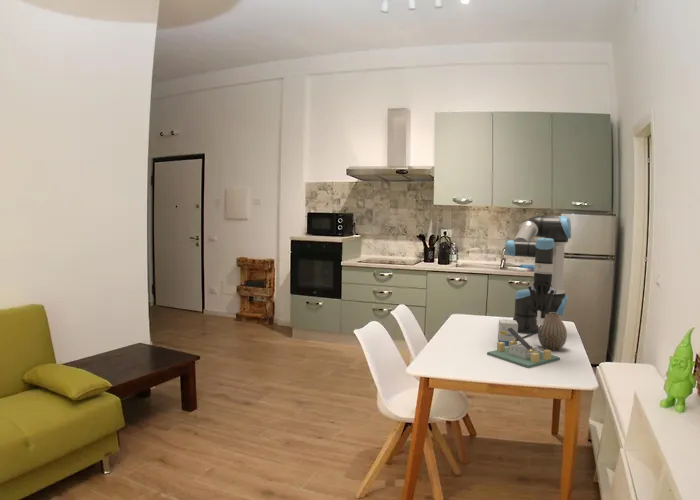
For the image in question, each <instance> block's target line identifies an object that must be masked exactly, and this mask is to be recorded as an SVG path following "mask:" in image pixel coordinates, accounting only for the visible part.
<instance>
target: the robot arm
mask: <svg viewBox="0 0 700 500" xmlns="http://www.w3.org/2000/svg"><path fill="white" fill-rule="evenodd" d="M533 238H536V240H533ZM571 238H572V224H571V220H570V218H569V216H565V215H564V216H563V215H540V214H539V215H534V216H531V217H529V218H527V219H525V220H524V221H522V222H521V223H520V225H519V227H518V232H517V234H516V236H515V237H514V239H508V240H506V241H505V245H504V246H505V247H504V251H505V252H504V253H505V255H506V256H509V257H510V256H511V257H525V258H534V267H533V268H534V269H533V271H534V273H533V283H532V285H531V286H528V288H524V289H519V290H516V292H515V297H514V316H513V318H512V320H516V322H517V323H518V333H519V334H526V335H529V334H531V333H534V332H537V331H538V329H539V326H540V325H543V321H544V319H545V318H546V315H547V316H548V314H549V312H554V313H558V315H559V317H562V316H563V315H565V313H566V312H565V311H566V307H567V304H568V303H567V302H568V299H569V295H568V294H566V291H565V290H564V289H563V285H564V283H563V282H564V265H565V264H564V262H565V246H566V245H567V243H568V242H569V240H570V239H571Z"/></svg>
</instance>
